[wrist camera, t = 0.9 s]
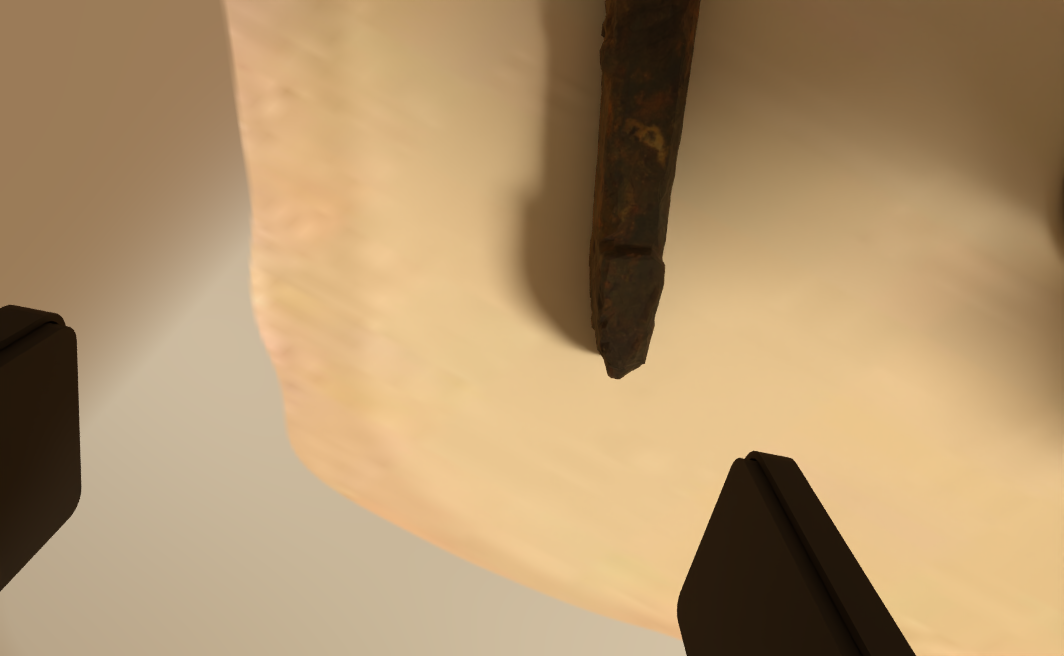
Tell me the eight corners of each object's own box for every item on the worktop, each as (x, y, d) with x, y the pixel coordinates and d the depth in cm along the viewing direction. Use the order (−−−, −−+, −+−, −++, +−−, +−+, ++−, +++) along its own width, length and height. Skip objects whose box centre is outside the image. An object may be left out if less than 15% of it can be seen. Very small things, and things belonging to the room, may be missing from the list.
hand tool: (602, -136, 25) (617, -170, 20) (713, -123, 25) (752, -155, 20) (546, 348, 32) (549, 397, 28) (632, 356, 32) (648, 406, 28)
